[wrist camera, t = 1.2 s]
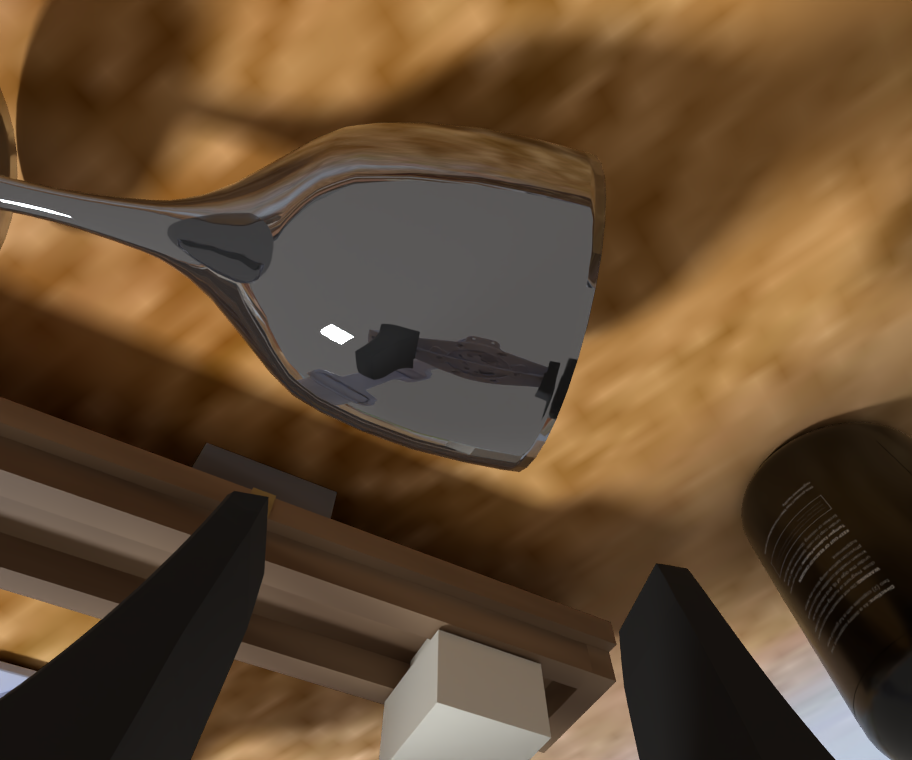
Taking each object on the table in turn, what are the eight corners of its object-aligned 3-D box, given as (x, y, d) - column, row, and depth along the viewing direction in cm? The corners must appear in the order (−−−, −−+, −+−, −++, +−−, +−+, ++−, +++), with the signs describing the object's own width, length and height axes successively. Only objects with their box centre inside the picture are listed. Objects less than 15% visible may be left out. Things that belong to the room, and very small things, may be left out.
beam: (525, 667, 29) (535, 760, 25) (-158, 437, 22) (-278, 518, 19) (601, 580, 26) (625, 671, 22) (-151, 289, 19) (-290, 350, 16)
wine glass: (28, 23, 17) (559, 158, 18) (21, 306, 19) (492, 406, 21) (-302, -101, 9) (643, 143, 11) (-249, 389, 12) (523, 538, 13)
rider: (479, 701, 25) (484, 805, 22) (387, 672, 24) (377, 776, 21) (536, 635, 23) (551, 737, 20) (439, 600, 22) (437, 702, 19)
